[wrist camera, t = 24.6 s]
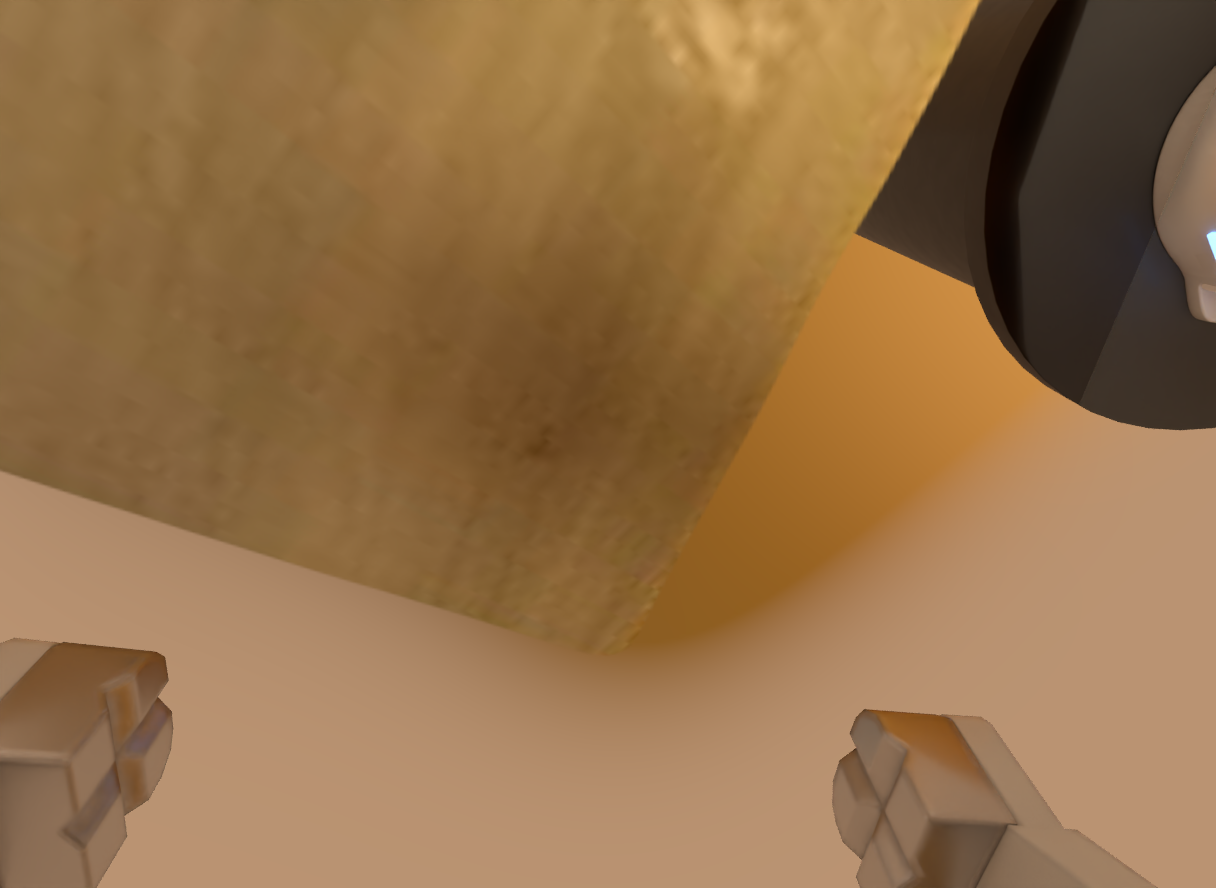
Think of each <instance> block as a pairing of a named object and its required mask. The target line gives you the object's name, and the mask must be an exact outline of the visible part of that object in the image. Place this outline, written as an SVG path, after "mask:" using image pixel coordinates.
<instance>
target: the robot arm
mask: <svg viewBox="0 0 1216 888" xmlns="http://www.w3.org/2000/svg"><path fill="white" fill-rule="evenodd" d="M1153 211H1154V219H1155V224H1156V228H1157V231H1158V234H1159V237H1160V239H1161V241H1162V244H1163V246H1164V247H1165V249H1166V251H1167V252H1168V254H1169V255H1170V257H1171V258H1172V259H1173V261H1174V262H1175V263H1176V265H1177V266H1178V267H1179V269H1180V270H1181V272H1182V274H1183V276H1184V278H1185V288H1186V296H1187V302H1188V307H1189V310H1190V312H1191V314H1192V315H1193V317H1195V318H1196V319H1198V320H1202V321H1208V322H1213V323H1216V66H1215V67H1214V68H1213V69H1212V70H1211V71H1210V72H1209V73H1208V74H1207V75H1206V76H1205V77H1204V78H1203V79H1202V81H1201V82H1200V83H1199V84H1198V85H1197V87H1196V88H1195V89H1194V90H1193V92H1192V93H1191V95H1190V96H1189V97H1188V99H1187V100H1186V102H1185V103H1184V105H1183V106H1182V108H1181V109H1180V111H1179V113H1178V115H1177V116H1176V118H1175V120H1174V122H1173V124H1172V126H1171V128H1170V130H1169V132H1168V134H1167V137H1166V139H1165V142H1164V144H1163V147H1162V150H1161V153H1160V156H1159V159H1158V163H1157V167H1156V172H1155V178H1154V186H1153ZM167 682H168V673H167V667H166V660H165V657H164V656H163V655H161V654H159V653H157V652H153V651H144V650H133V649H124V648H115V647H104V646H96V645H86V644H77V643H67V642H63V643H57V642H48V641H39V640H29V639H20V638H13V639H10V640H8V641H5V642H3V643H0V888H97V886H98V884H99V883H100V881H101V879H102V877H103V876H104V874H105V872H106V871H107V869H108V867H109V866H110V864H111V863H112V861H113V859H114V858H115V856H116V854H117V852H118V851H119V849H120V847H121V846H122V844H123V842H124V841H125V839H126V837H127V832H126V825H125V817H124V816H125V815H126V814H128V813H129V812H131V811H133V810H134V809H136V808H137V807H138V806H140V805H142V804H143V803H145V802H146V801H148V800H149V798H150V797H151V795H152V793H153V791H154V790H155V787H156V786H157V784H158V782H159V781H160V779H161V777H162V774H163V771H164V768H165V765H166V762H167V759H168V756H169V754H170V751H171V743H172V734H173V722H172V711H171V710H170V709H169V708H168V707H167V706H166V705H165V704H164V703H163V702H162V701H161V700H160V699H159V698H158V696H159V694H160V693H161V691H162V689H163V688H164V687H165V685H166V684H167ZM850 735H851V737H852V739H853V742H854V744H855V746H856V748H855V749H854V750H853V751H852V752H850V753H849V754H847V755H846V756H845V757H843V758H842V759H841V760H840V761H839V764H838V767H837V770H836V773H835V776H834V780H833V800H832V803H833V810H834V815H835V821H836V824H837V827H838V830H839V833H840V835H841V838H842V841H843V842H844V844H846V845H847V846H848V847H849V848H850V849H851V850H852V851H853V852H854V853H855V854H856V855H857V856H859V858H860V859H861V860H862V861H861V864H860V867H859V870H858V872H857V875H856V878H857V881H858V883H859V886H860V888H1157V887H1156V886H1154V885H1153V884H1151V883H1150V882H1149V881H1147V880H1146V879H1145V878H1143V877H1142V876H1141V875H1139V874H1138V873H1136V872H1135V871H1134V870H1132V869H1131V868H1129V867H1128V866H1126V865H1125V864H1124V863H1122V862H1121V861H1120V860H1118V859H1117V858H1115V857H1114V856H1113V855H1111V854H1110V853H1109V852H1107V851H1106V850H1104V849H1103V848H1101V847H1100V846H1098V845H1097V844H1096V843H1095V842H1093V841H1092V840H1090V839H1089V838H1088V837H1086V836H1085V835H1083V834H1082V833H1081V832H1079V831H1078V830H1072V829H1064V828H1063V826H1062V825H1061V823H1060V822H1059V820H1058V819H1057V817H1056V816H1055V815H1054V813H1053V812H1052V810H1051V809H1050V807H1049V806H1048V805H1047V803H1046V802H1045V800H1044V799H1043V797H1042V796H1041V795H1040V793H1039V792H1038V790H1037V789H1036V787H1035V786H1034V784H1033V783H1032V781H1031V780H1030V779H1029V777H1028V776H1027V774H1026V773H1025V772H1024V770H1023V769H1022V767H1021V766H1020V764H1019V763H1018V761H1017V760H1016V758H1015V757H1014V756H1013V754H1012V753H1011V751H1010V750H1009V749H1008V747H1007V746H1006V744H1005V743H1004V741H1003V740H1002V738H1001V737H1000V735H999V734H998V733H997V731H996V730H995V728H994V727H993V725H992V724H990V723H989V722H988V721H986V720H984V719H983V718H982V717H975V716H960V715H943V714H942V715H935V714H920V713H907V712H894V711H879V710H867V709H864V710H863V711H862V712H861V713H860V714H859V715H858V716H857V717H856V719H855V721H854V724H853V726H852V729H851V731H850Z"/></svg>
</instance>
